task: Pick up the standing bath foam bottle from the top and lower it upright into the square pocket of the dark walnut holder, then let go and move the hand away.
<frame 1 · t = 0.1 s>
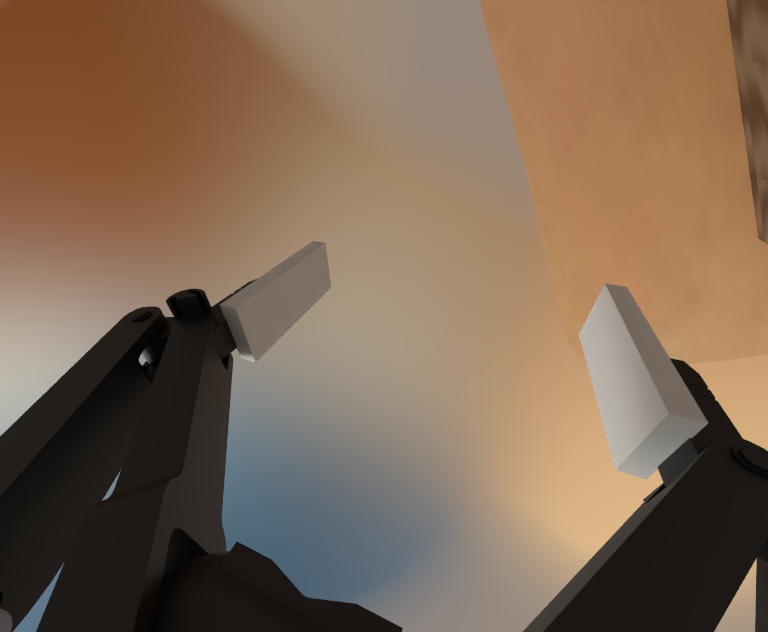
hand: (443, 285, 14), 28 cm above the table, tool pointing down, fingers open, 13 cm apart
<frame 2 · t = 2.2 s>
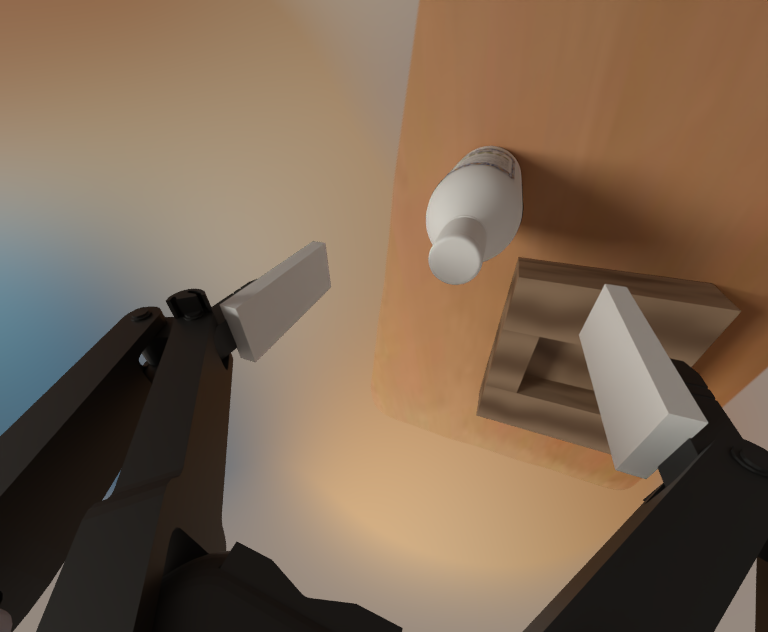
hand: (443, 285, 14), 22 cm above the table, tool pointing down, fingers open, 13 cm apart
bath foam: (485, 182, 31), on the table
walnut holder: (566, 350, 39), on the table
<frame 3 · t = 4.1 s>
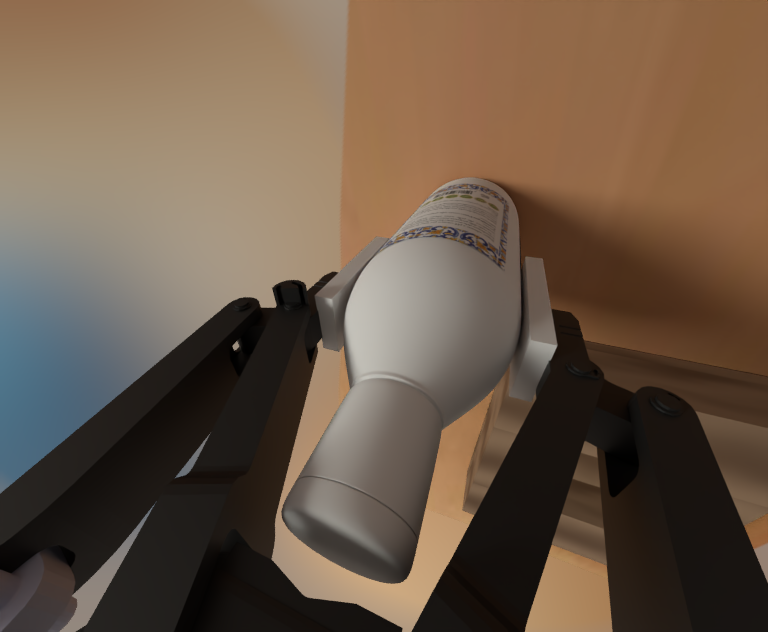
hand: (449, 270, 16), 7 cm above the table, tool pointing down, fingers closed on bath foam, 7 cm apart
bath foam: (466, 227, 21), on the table, touching gripper
walnut holder: (580, 441, 29), on the table
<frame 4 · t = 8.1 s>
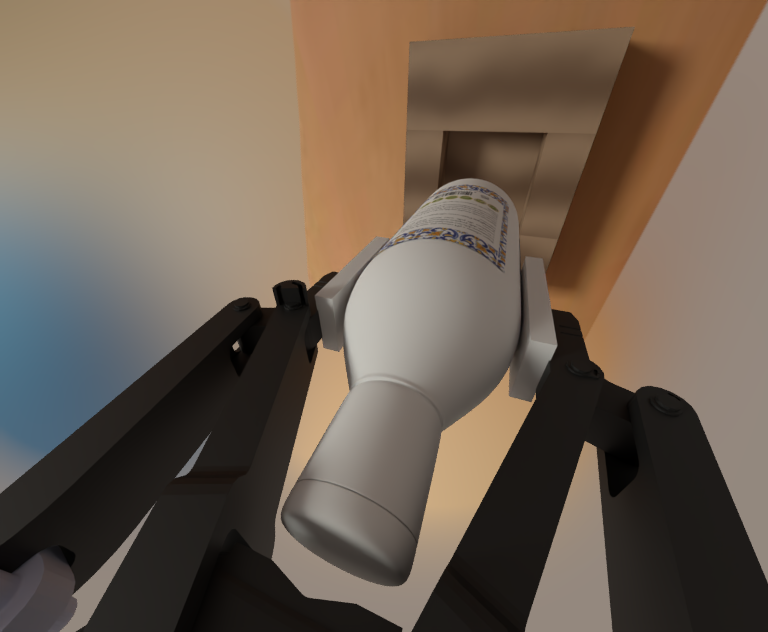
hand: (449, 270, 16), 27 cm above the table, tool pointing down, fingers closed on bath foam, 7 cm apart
bath foam: (466, 227, 21), point 19 cm above the table, touching gripper
walnut holder: (486, 176, 36), on the table
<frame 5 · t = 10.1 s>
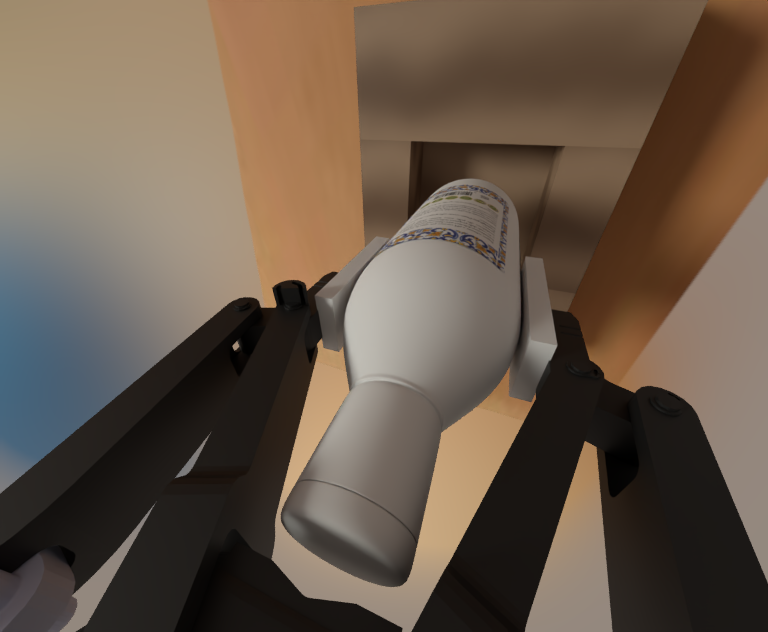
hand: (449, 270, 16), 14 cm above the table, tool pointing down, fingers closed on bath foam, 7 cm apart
bath foam: (466, 227, 21), point 7 cm above the table, touching gripper
walnut holder: (476, 201, 26), on the table
when the fingers open (9 cm above the table, at t = 11.9 s): bath foam drops 1 cm, resting on walnut holder.
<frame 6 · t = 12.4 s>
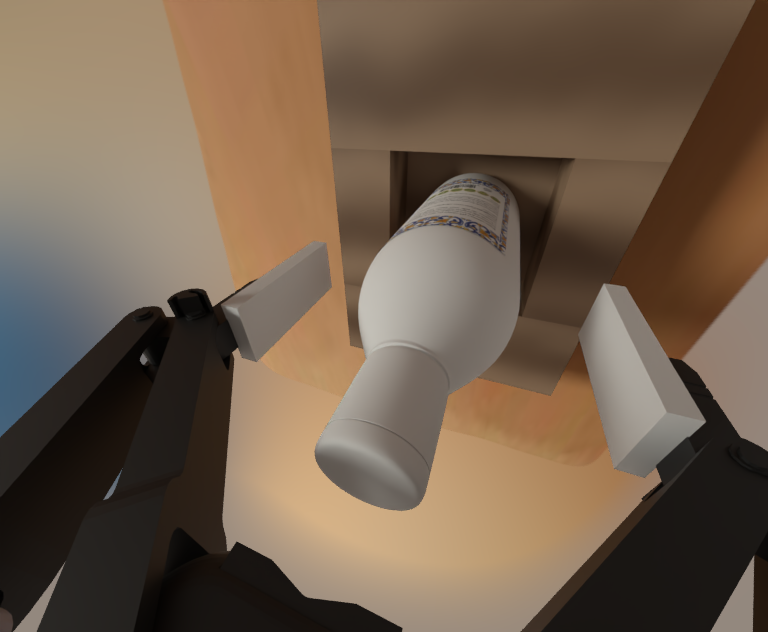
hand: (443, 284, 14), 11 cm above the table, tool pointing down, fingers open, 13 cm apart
bath foam: (469, 220, 22), point 1 cm above the table, touching walnut holder
walnut holder: (470, 217, 23), on the table
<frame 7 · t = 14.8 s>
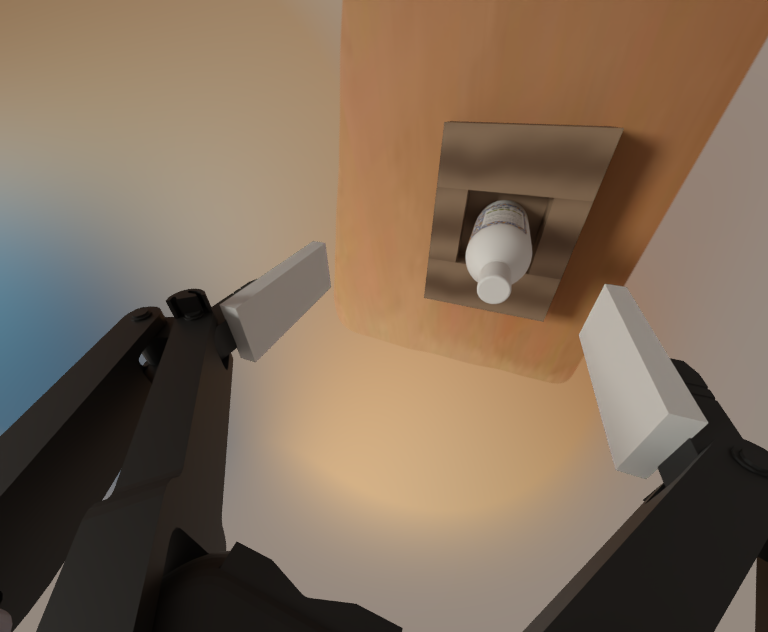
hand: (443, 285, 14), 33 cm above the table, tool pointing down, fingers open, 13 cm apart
bath foam: (501, 224, 42), point 1 cm above the table, touching walnut holder
walnut holder: (500, 222, 42), on the table
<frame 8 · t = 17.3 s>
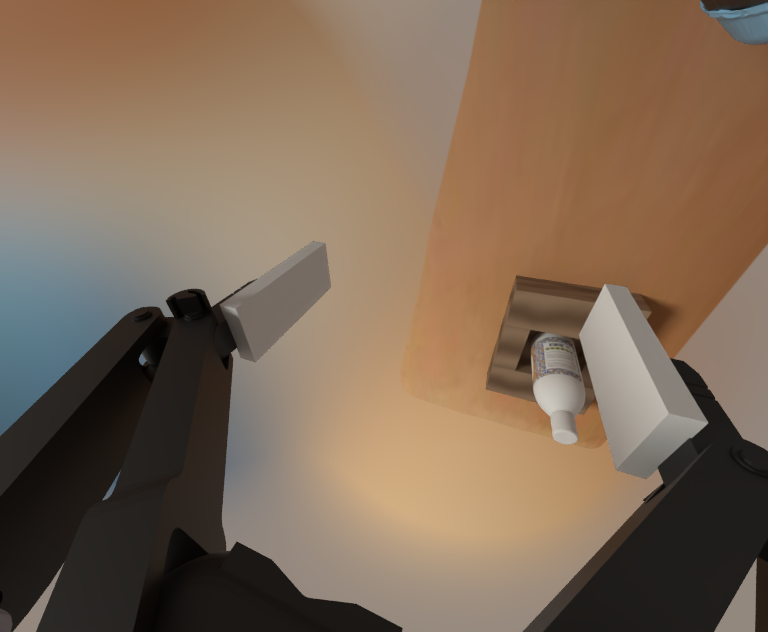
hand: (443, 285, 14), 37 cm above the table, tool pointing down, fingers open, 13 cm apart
bath foam: (551, 342, 54), point 1 cm above the table, touching walnut holder
walnut holder: (550, 340, 55), on the table
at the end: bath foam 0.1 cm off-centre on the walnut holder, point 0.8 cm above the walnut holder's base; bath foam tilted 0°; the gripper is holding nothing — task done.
